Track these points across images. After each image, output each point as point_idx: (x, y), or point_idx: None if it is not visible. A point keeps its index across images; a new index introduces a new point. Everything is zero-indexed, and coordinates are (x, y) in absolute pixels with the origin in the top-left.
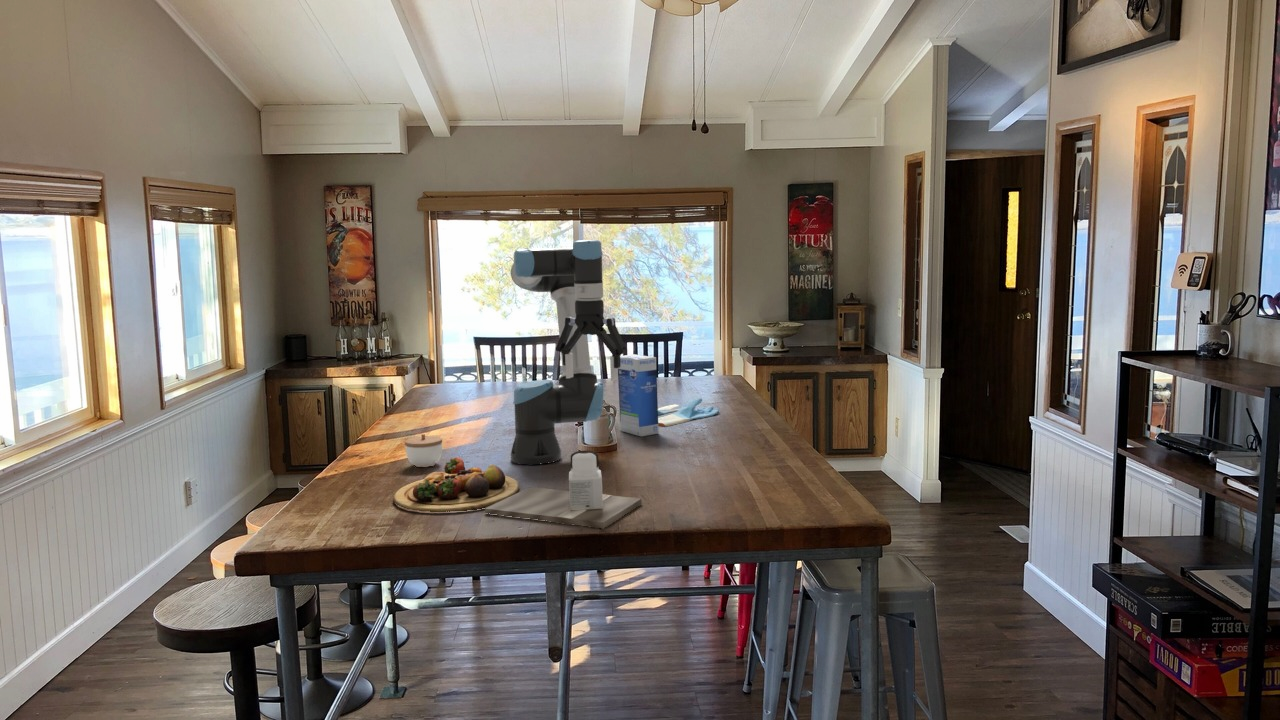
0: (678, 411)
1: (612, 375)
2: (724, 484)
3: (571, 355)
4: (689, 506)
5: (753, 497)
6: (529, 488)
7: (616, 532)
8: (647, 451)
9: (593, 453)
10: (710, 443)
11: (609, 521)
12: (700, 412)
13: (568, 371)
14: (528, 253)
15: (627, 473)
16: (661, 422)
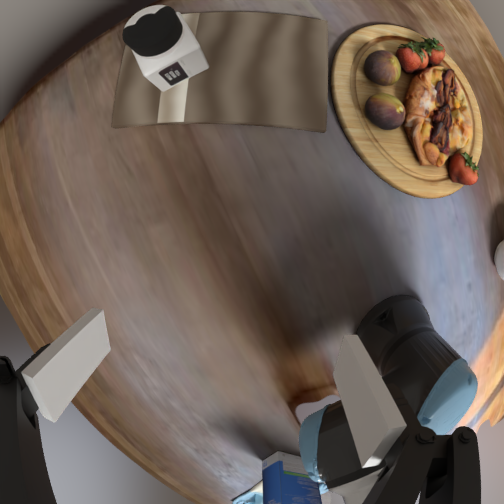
0: None
1: (82, 320)
2: (62, 265)
3: (364, 450)
4: (63, 150)
5: (24, 218)
6: (321, 122)
7: (117, 26)
8: (238, 406)
9: (127, 28)
10: (178, 437)
11: None
12: (249, 501)
13: (353, 358)
14: None
15: (209, 293)
16: None
